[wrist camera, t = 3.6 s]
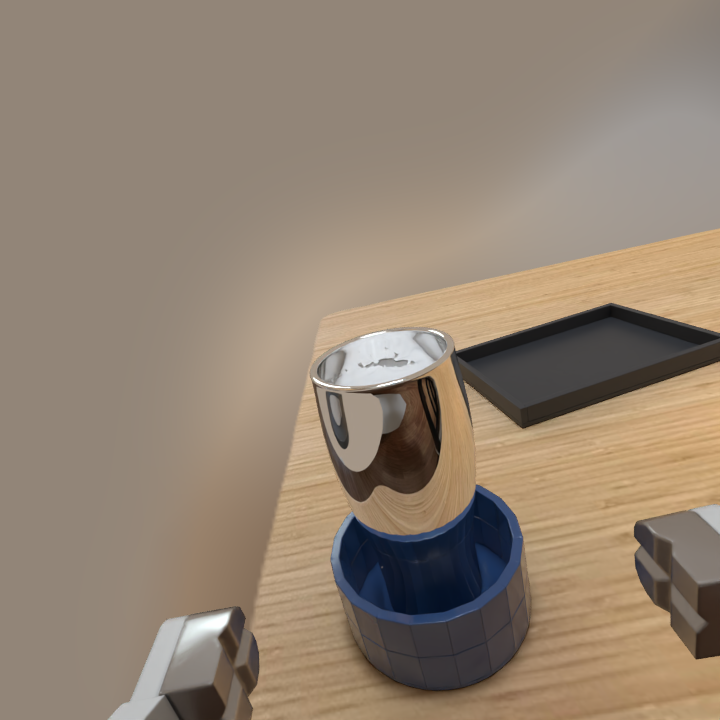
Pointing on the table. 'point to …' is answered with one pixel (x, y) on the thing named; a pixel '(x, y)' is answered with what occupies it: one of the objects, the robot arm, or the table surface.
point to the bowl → (446, 629)
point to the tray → (583, 360)
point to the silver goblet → (405, 461)
